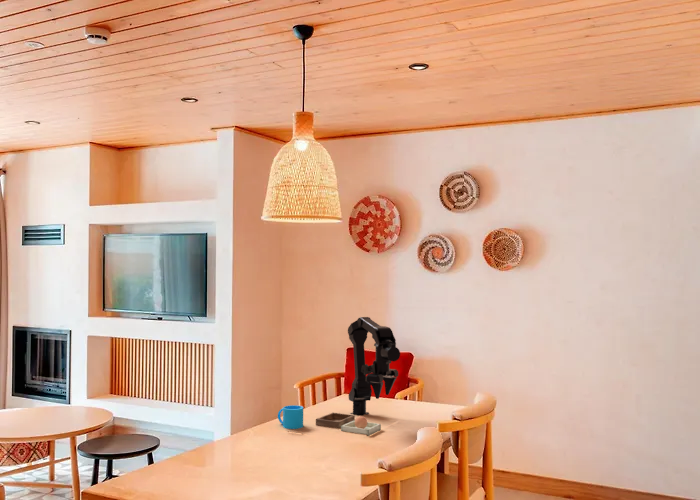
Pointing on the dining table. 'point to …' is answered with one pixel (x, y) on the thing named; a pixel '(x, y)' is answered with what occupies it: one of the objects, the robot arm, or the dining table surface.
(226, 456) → the dining table surface
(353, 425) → the tray
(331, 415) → the walnut box
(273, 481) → the dining table surface
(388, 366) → the robot arm
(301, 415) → the mug
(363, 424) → the ball
